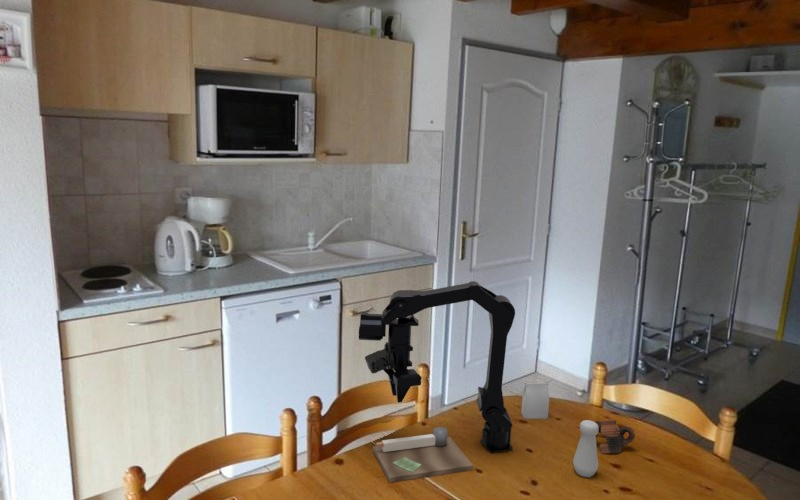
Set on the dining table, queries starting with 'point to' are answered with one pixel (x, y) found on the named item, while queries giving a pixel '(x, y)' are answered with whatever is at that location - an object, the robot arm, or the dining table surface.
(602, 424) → the pottery mug
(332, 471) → the dining table surface
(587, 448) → the salt shaker
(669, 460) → the dining table surface
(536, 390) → the grey block
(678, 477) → the dining table surface
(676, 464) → the dining table surface
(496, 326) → the robot arm
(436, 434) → the lever
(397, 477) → the board
